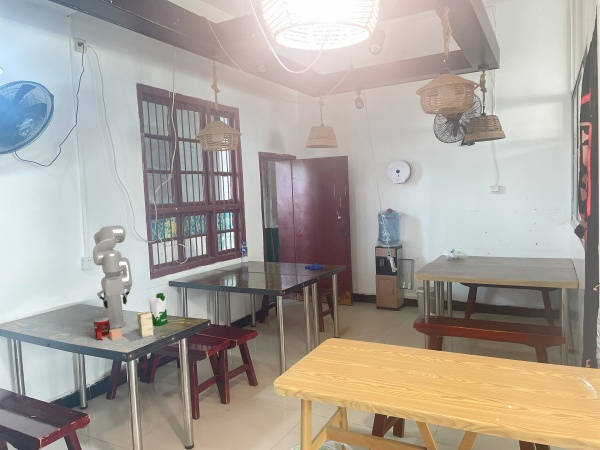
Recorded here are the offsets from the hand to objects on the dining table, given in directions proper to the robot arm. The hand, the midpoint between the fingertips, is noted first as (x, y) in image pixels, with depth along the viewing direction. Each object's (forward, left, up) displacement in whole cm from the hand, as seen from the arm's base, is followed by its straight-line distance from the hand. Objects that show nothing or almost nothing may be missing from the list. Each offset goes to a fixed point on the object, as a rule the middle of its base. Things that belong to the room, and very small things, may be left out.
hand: (115, 305), depth 237 cm
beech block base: (+6, +13, -18) cm, 23 cm away
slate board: (+3, +11, -20) cm, 23 cm away
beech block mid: (+6, +13, -12) cm, 19 cm away
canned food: (-13, -5, -20) cm, 24 cm away
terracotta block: (-2, -1, -20) cm, 20 cm away
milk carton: (-9, +26, -20) cm, 34 cm away
